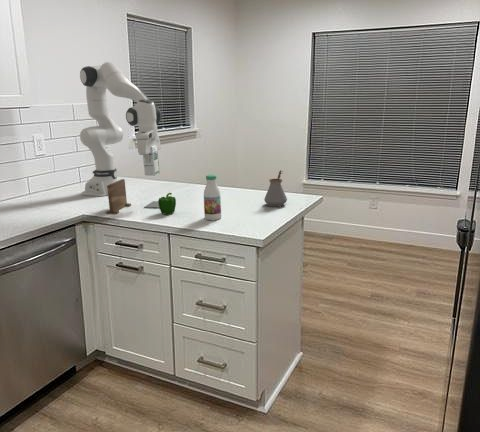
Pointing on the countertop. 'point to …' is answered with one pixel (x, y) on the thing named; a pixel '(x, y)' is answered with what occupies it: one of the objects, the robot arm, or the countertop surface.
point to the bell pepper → (167, 204)
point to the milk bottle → (212, 199)
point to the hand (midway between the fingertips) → (151, 161)
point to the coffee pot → (275, 193)
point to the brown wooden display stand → (117, 197)
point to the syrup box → (152, 163)
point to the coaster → (152, 205)
